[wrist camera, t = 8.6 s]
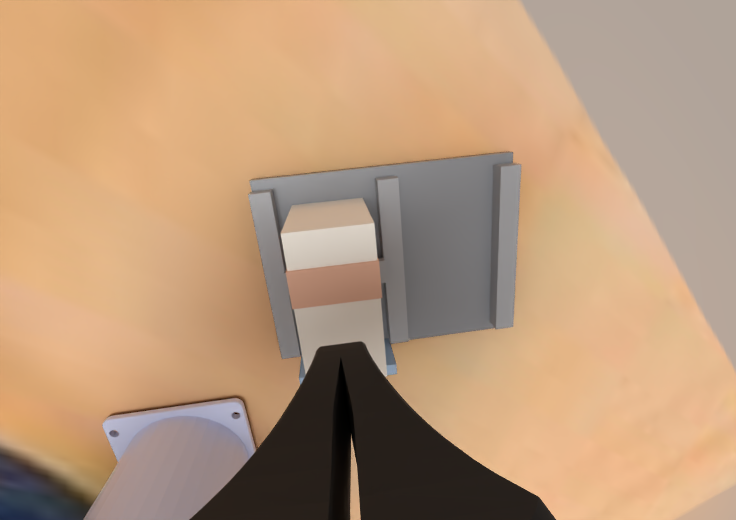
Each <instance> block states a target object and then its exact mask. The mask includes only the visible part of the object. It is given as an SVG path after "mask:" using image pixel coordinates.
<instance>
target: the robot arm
mask: <svg viewBox="0 0 736 520" xmlns="http://www.w3.org/2000/svg"><path fill="white" fill-rule="evenodd" d="M234 412H238V413H240V414H235V413H234ZM102 426H103V429H104V431H105V434H106V436H107V438H108V441H109V443H110V445H111V447H112V450H113V452H114V454H115V456H116V459H117V461H118V463H117V465H116V467H115V468H114V470H113V472H112V473H111V475H110V477H109V478H108V480H107V482H106V483H105V485H104V487H103V488H102V490H101V491H100V493H99V495H98V496H97V498H96V500H95V501H94V503H93V505H92V506H91V508H90V510H89V511H88V513H87V515H86V516H85V518H84V519H83V520H350V479H351V435H352V441H353V446H354V451H355V457H356V462H357V468H358V483H359V498H360V514H361V520H556V519H555V518H554V516H553V515H552V514H551V512H550V511H549V510H548V508H547V507H546V506H545V504H544V503H543V502H542V500H541V499H540V498H539V497H538V496H536V495H534V494H532V493H531V492H529V491H527V490H525V489H523V488H521V487H520V486H518V485H516V484H514V483H512V482H510V481H509V480H507V479H505V478H503V477H501V476H499V475H498V474H496V473H494V472H493V471H491V470H489V469H488V468H486V467H485V466H483V465H482V464H480V463H478V462H477V461H475V460H474V459H472V458H471V457H470V456H468V455H467V454H466V453H464V452H463V451H462V450H460V449H459V448H458V447H456V446H455V445H454V444H452V443H451V442H450V441H448V440H447V439H445V438H444V437H443V436H442V435H441V434H439V433H438V432H437V431H436V430H435V429H434V428H432V427H431V426H430V425H429V424H428V423H427V422H426V421H425V420H424V419H422V418H421V417H420V416H419V415H418V414H417V413H416V412H415V411H414V410H413V409H412V408H411V407H410V406H409V405H408V404H407V403H406V401H405V400H404V399H403V398H402V397H401V396H400V395H399V394H398V392H397V391H396V390H395V389H394V388H393V386H392V385H391V384H390V383H389V381H388V380H387V379H386V377H385V376H384V375H383V373H382V372H381V371H380V369H379V368H378V366H377V365H376V363H375V362H374V360H373V359H372V357H371V355H370V353H369V351H368V349H367V347H366V344H365V343H363V342H362V341H358V342H351V343H343V344H336V345H328V346H321V347H319V348H318V349H317V350H316V353H315V356H314V358H313V361H312V363H311V365H310V367H309V369H308V371H307V373H306V376H305V377H304V379H303V381H302V383H301V385H300V387H299V389H298V390H297V392H296V394H295V396H294V397H293V399H292V401H291V402H290V404H289V405H288V407H287V409H286V410H285V412H284V413H283V415H282V416H281V418H280V420H279V421H278V422H277V424H276V425H275V427H274V428H273V430H272V431H271V432H270V434H269V435H268V436H267V438H266V439H265V440H264V441H263V443H262V444H261V445H260V447H259V448H258V449H257V450H256V448H255V444H254V440H253V437H252V433H251V429H250V425H249V421H248V418H247V414H246V410H245V406H244V403H243V401H242V400H240V399H238V398H231V399H224V400H218V401H211V402H204V403H197V404H190V405H183V406H176V407H169V408H162V409H155V410H148V411H141V412H135V413H128V414H121V415H114V416H109V417H108V418H106V420H105V421H104V422H103V425H102ZM114 430H116V431H118V432H116V431H114Z"/></svg>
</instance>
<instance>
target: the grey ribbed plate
mask: <svg viewBox="0 0 736 520" xmlns="http://www.w3.org/2000/svg"><path fill="white" fill-rule="evenodd" d="M520 179H521V164H517V163H513V152H500V153H490V154H481V155H472V156H463V157H453V158H444V159H435V160H425V161H416V162H407V163H398V164H388V165H379V166H370V167H361V168H351V169H342V170H333V171H324V172H314V173H305V174H296V175H287V176H277V177H268V178H259V179H251V180H250V185H251V190H252V191H251V192H250V193H249V194H248V197H249V201H250V206H251V211H252V216H253V221H254V226H255V231H256V235H257V240H258V245H259V250H260V255H261V260H262V264H263V269H264V274H265V279H266V284H267V289H268V294H269V298H270V303H271V308H272V313H273V318H274V323H275V327H276V332H277V337H278V342H279V347H280V352H281V357H282V359H286V358H293V357H300V356H301V365H300V374H299V380H300V385H301V383H302V381H303V379H304V377H305V376H306V374H305V369H304V363H303V357H302V352H301V346H300V340H299V335H298V329H297V323H296V318H295V312H294V309H292V305H291V299H290V294H289V288H288V283H287V277H286V269H287V267H286V262H285V256H284V250H283V245H282V239H281V231H282V229H283V226H284V224H285V221H286V219H287V216H288V214H289V211H290V209H291V206H292V205H299V204H308V203H317V202H326V201H336V200H345V199H354V198H363V200H364V202H365V204H366V206H367V208H368V211H369V213H370V215H371V217H372V219H373V221H374V224H375V236H376V248H377V257H378V259H379V265H380V277H381V289H382V298H381V307H382V319H383V331H384V343H385V354H386V366H387V375H392V374H397V368H396V362H395V358H394V355H393V351H392V348H391V344H393V343H401V342H408V341H409V340H412V339H419V338H426V337H433V336H440V335H448V334H455V333H462V332H469V331H476V330H484V329H491V328H495V329H501V328H508V327H513V318H514V298H515V279H516V259H517V239H518V219H519V199H520ZM390 342H391V344H390Z"/></svg>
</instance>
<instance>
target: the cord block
mask: <svg viewBox="0 0 736 520" xmlns="http://www.w3.org/2000/svg"><path fill="white" fill-rule="evenodd" d="M281 239H282V245H283V250H284V256H285V262H286V267H287V269H286V277H287V283H288V288H289V294H290V299H291V305H292V309H294V312H295V318H296V323H297V329H298V335H299V340H300V346H301V352H302V357H303V363H304V369H305V374H306V373H307V371H308V369H309V367H310V365H311V363H312V361H313V358H314V356H315V353H316V350H317V349H318V348H319V347H321V346H328V345H336V344H343V343H351V342H358V341H362V342H363V343H365V344H366V347H367V349H368V351H369V353H370V355H371V357H372V359H373V360H374V362H375V363H376V365H377V366H378V368H379V369H380V371H381V372H382V373H383V375H384V376H385V377H387V366H386V354H385V343H384V331H383V319H382V307H381V298H382V289H381V277H380V265H379V259H378V257H377V248H376V236H375V224H374V221H373V219H372V217H371V215H370V213H369V211H368V208H367V206H366V204H365V202H364V200H363V198H354V199H345V200H336V201H326V202H317V203H308V204H299V205H292V206H291V209H290V211H289V214H288V216H287V219H286V221H285V224H284V226H283V229H282V231H281Z"/></svg>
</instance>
